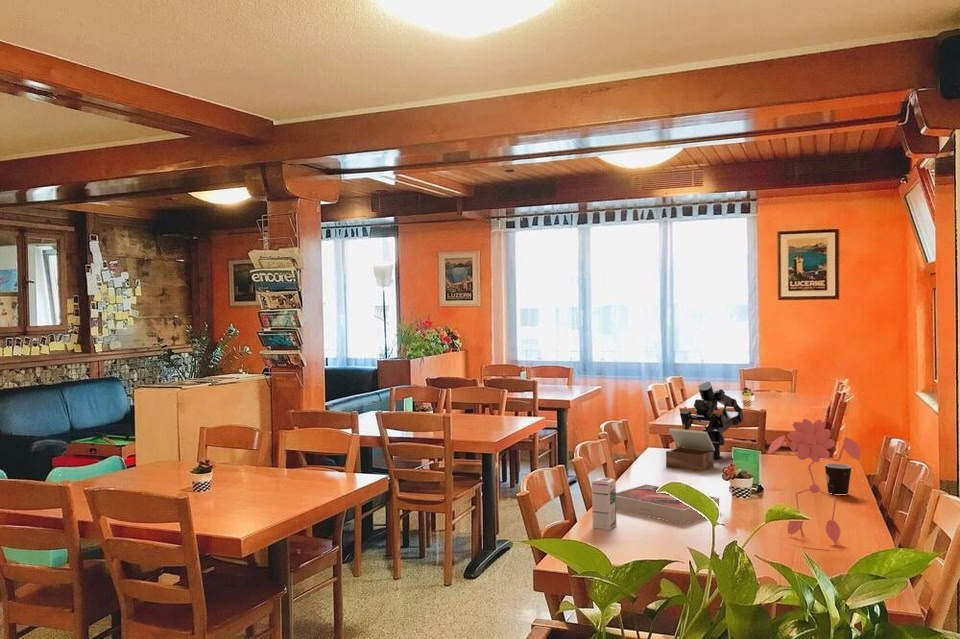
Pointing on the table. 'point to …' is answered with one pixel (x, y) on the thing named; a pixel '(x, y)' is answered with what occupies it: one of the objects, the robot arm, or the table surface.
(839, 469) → the coffee mug
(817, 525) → the table surface
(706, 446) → the lid
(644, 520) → the table surface
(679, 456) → the walnut box
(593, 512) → the syrup box
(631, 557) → the table surface
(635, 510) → the product packaging
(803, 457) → the pink flower figurine
